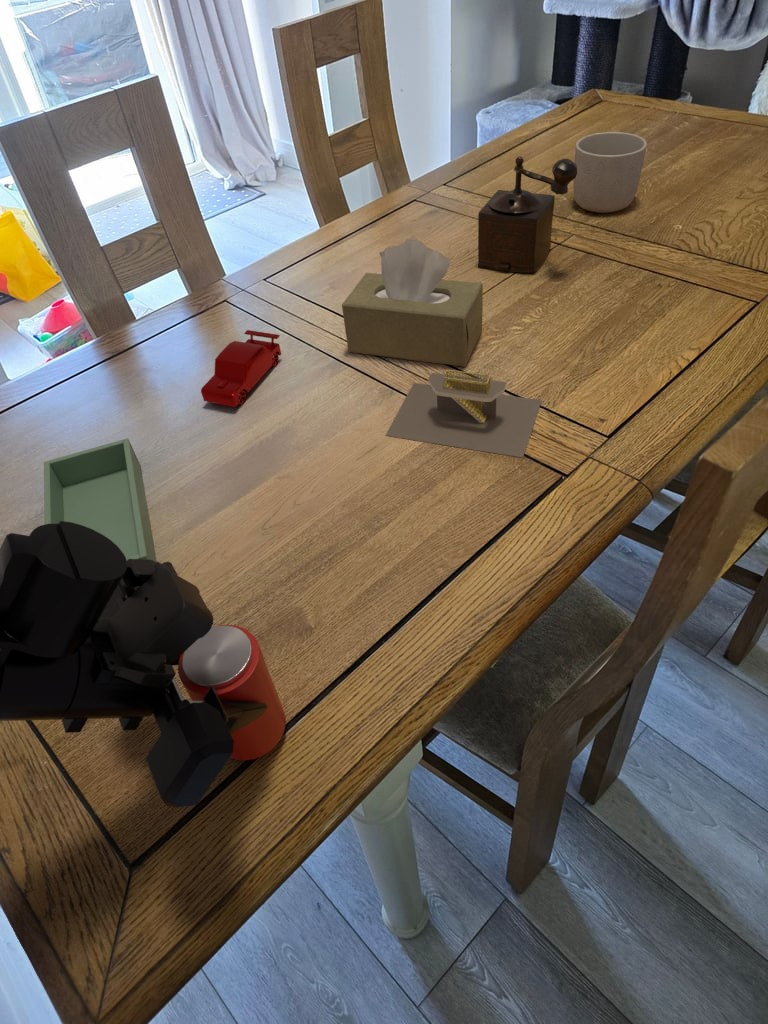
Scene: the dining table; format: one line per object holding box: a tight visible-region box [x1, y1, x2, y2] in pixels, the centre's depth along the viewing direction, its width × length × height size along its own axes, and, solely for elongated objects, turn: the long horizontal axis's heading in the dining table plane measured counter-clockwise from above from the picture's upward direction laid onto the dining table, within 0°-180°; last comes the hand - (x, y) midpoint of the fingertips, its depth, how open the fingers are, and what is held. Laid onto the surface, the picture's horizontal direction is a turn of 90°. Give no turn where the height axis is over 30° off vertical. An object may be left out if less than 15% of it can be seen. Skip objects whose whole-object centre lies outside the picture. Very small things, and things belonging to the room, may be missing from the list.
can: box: [177, 624, 287, 761], centre depth 58 cm, size 6×6×12 cm
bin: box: [43, 438, 158, 562], centre depth 81 cm, size 10×21×5 cm, turn 20°
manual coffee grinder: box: [477, 156, 577, 274], centre depth 114 cm, size 16×11×18 cm
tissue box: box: [341, 237, 484, 368], centre depth 100 cm, size 19×10×16 cm, turn 70°
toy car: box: [200, 329, 282, 408], centre depth 100 cm, size 14×6×5 cm, turn 158°
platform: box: [385, 369, 543, 459], centre depth 89 cm, size 12×18×7 cm, turn 70°
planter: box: [572, 131, 648, 214], centre depth 129 cm, size 12×12×11 cm
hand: (247, 679), depth 58 cm, fingers closed on can, 6 cm apart
